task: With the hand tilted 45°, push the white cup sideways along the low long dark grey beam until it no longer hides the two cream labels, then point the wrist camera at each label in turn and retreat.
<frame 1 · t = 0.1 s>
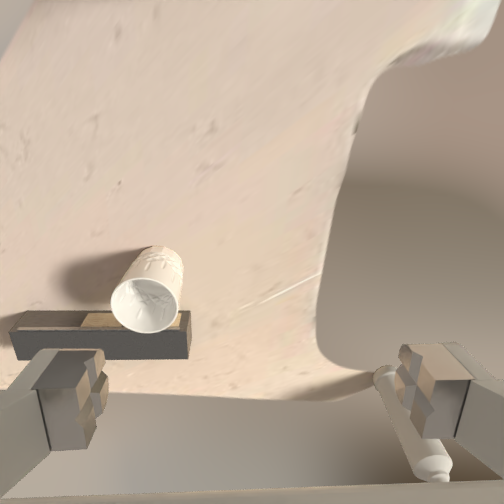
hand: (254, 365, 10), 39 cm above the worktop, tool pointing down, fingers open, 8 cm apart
long dark grey beam: (112, 324, 56), on the worktop
white cup: (160, 266, 52), on the worktop
bottle: (385, 374, 63), on the worktop
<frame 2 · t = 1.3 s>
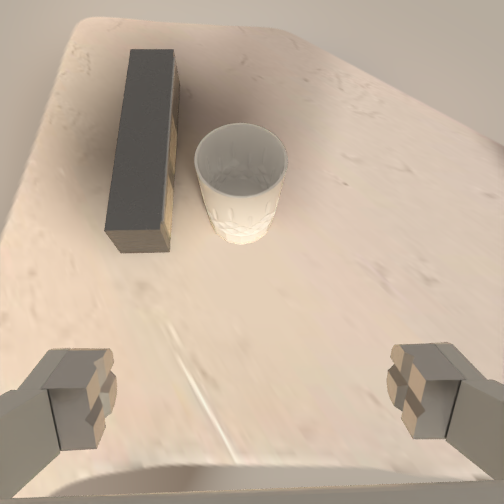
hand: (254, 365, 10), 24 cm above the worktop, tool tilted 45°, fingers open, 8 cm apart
long dark grey beam: (153, 158, 43), on the worktop
white cup: (241, 218, 40), on the worktop
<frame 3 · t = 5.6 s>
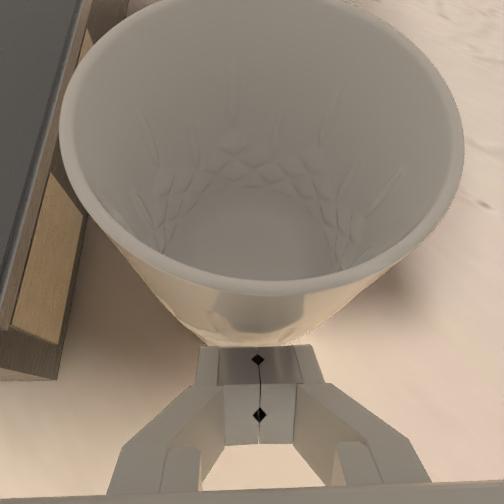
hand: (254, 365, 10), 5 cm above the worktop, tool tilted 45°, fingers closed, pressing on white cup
long dark grey beam: (53, 137, 19), on the worktop
white cup: (247, 280, 16), on the worktop, touching gripper
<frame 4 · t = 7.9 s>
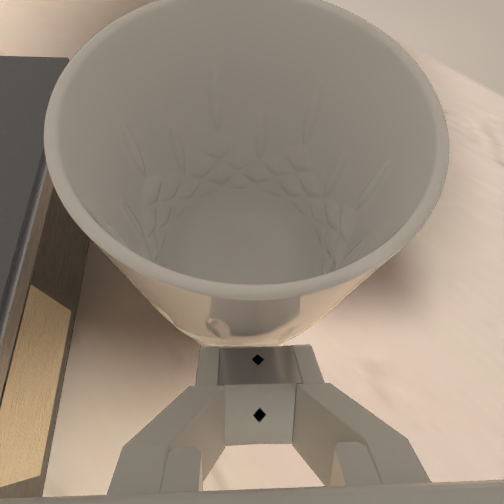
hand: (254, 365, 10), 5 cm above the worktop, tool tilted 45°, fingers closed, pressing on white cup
white cup: (241, 281, 17), on the worktop, touching gripper
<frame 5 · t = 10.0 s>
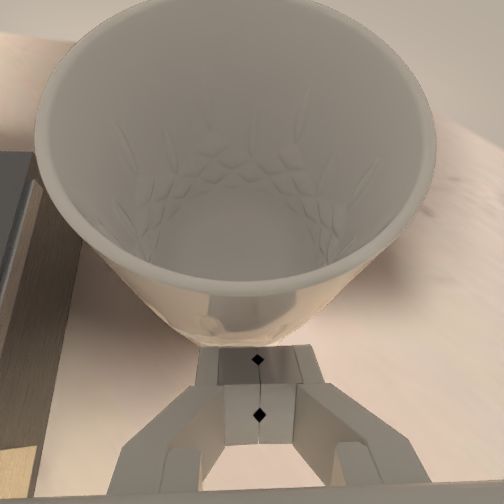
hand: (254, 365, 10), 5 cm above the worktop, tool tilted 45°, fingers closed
white cup: (235, 281, 17), on the worktop
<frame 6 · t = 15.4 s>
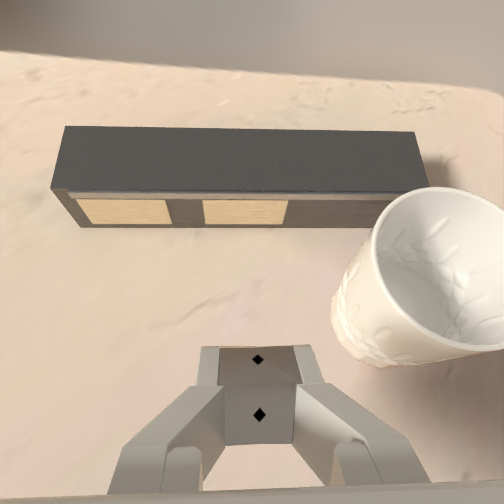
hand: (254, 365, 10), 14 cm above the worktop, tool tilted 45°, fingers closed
long dark grey beam: (243, 199, 29), on the worktop
white cup: (376, 318, 26), on the worktop
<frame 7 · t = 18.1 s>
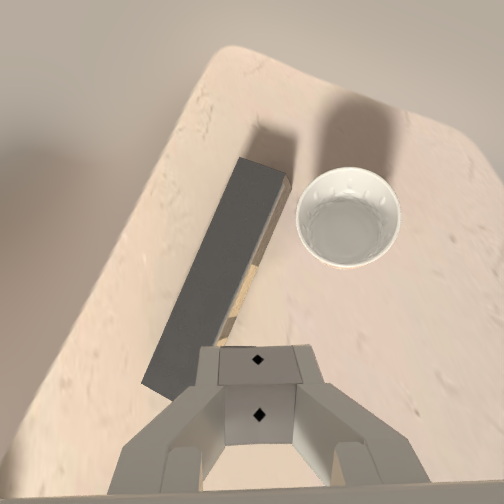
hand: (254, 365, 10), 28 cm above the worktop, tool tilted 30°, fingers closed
long dark grey beam: (227, 281, 40), on the worktop
white cup: (343, 237, 38), on the worktop
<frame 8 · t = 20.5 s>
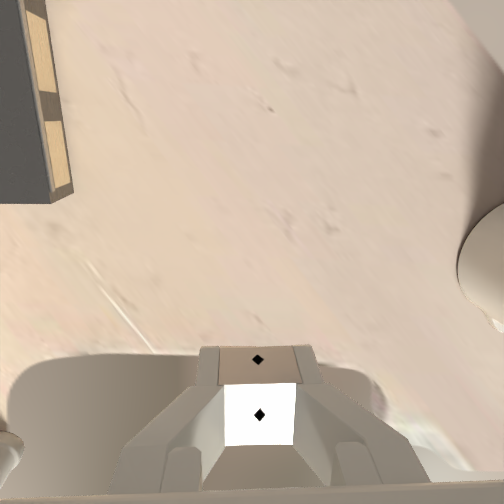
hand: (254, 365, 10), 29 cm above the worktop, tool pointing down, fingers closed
long dark grey beam: (24, 58, 33), on the worktop
bottle: (6, 443, 48), on the worktop
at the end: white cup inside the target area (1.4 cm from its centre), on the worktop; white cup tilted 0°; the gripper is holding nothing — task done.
